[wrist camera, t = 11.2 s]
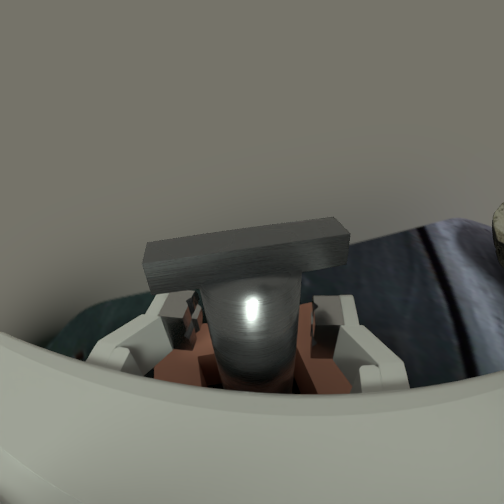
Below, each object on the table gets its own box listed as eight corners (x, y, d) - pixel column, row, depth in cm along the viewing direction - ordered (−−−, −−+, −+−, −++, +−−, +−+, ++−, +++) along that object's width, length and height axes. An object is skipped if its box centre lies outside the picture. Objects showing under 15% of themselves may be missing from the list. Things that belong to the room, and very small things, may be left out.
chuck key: (304, 381, 16) (321, 205, 10) (320, 425, 13) (367, 250, 7) (203, 399, 15) (150, 228, 9) (209, 447, 12) (136, 285, 7)
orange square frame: (312, 333, 19) (316, 300, 18) (376, 459, 11) (396, 439, 9) (167, 361, 18) (154, 331, 16) (181, 507, 9) (161, 498, 8)
